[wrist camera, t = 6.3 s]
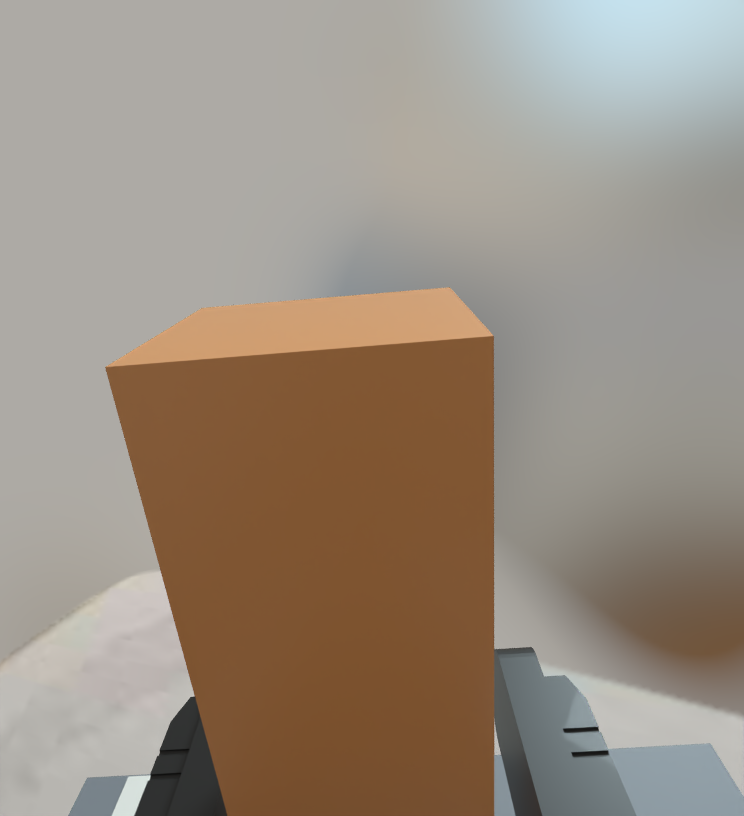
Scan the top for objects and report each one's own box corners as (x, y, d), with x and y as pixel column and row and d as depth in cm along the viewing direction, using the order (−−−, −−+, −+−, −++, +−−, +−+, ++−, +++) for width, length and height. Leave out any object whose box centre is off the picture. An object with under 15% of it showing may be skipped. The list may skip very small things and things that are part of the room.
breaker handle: (521, 1187, 8) (556, 351, 4) (293, 1195, 8) (23, 393, 4) (479, 905, 12) (467, 279, 7) (315, 912, 12) (192, 302, 7)
